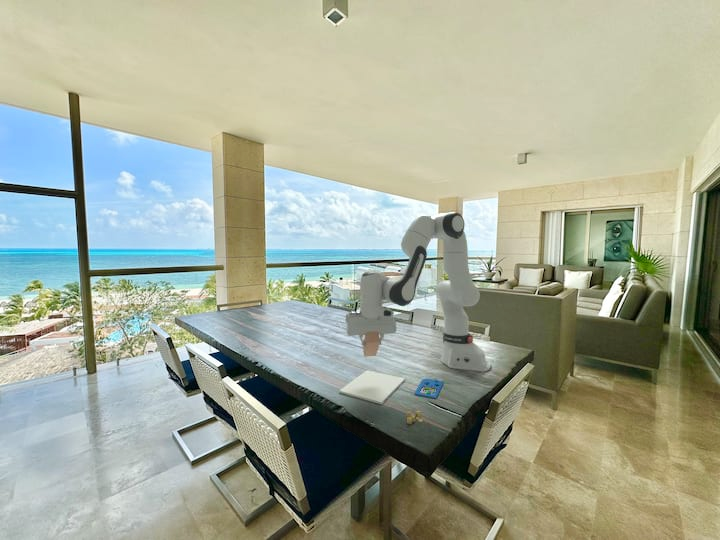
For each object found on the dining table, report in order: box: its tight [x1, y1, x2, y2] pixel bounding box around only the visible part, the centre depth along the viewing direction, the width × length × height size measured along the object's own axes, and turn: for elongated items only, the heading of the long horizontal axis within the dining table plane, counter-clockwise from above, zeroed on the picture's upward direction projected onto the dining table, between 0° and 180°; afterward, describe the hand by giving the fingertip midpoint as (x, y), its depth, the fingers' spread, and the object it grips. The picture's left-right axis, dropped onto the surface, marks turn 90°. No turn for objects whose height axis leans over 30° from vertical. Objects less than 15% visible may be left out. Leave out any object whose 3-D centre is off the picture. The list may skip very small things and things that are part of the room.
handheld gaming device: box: [413, 378, 444, 400], centre depth 115 cm, size 8×1×15 cm
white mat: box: [338, 370, 406, 405], centre depth 117 cm, size 18×22×1 cm
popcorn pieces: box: [406, 410, 423, 425], centre depth 94 cm, size 5×5×2 cm
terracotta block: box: [362, 331, 380, 358], centre depth 120 cm, size 5×5×12 cm
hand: (371, 344), depth 119 cm, fingers closed on terracotta block, 5 cm apart
